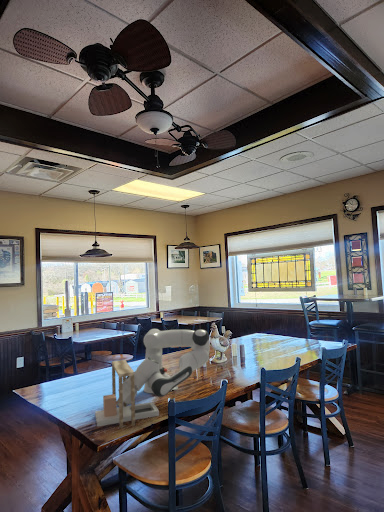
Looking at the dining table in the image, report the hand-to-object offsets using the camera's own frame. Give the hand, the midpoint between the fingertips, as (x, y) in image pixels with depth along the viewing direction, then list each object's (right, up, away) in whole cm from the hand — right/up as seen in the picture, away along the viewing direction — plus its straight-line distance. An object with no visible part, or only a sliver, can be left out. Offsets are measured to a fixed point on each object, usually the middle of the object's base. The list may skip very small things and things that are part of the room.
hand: (116, 404), depth 184 cm
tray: (+5, -7, +2) cm, 9 cm away
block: (-3, -4, -1) cm, 6 cm away
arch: (+3, -7, +1) cm, 8 cm away
